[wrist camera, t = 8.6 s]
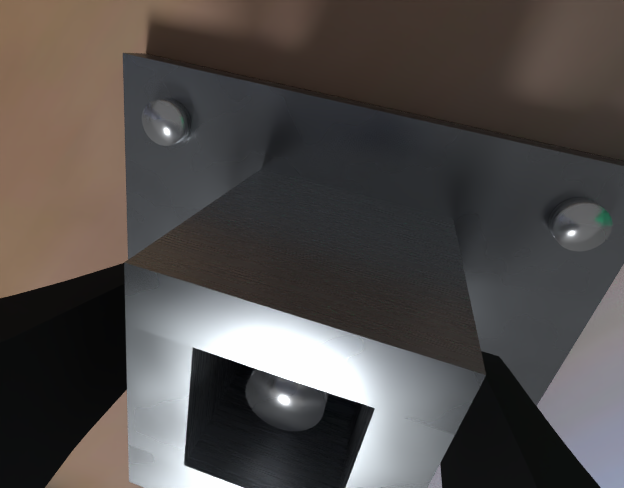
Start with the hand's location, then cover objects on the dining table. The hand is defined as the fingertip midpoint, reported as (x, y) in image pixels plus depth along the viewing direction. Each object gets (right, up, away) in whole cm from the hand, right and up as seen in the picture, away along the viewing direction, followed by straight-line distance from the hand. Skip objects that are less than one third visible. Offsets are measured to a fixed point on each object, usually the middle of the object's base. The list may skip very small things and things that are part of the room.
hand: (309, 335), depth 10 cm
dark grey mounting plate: (+1, +2, +3) cm, 4 cm away
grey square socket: (+1, +1, +2) cm, 3 cm away
